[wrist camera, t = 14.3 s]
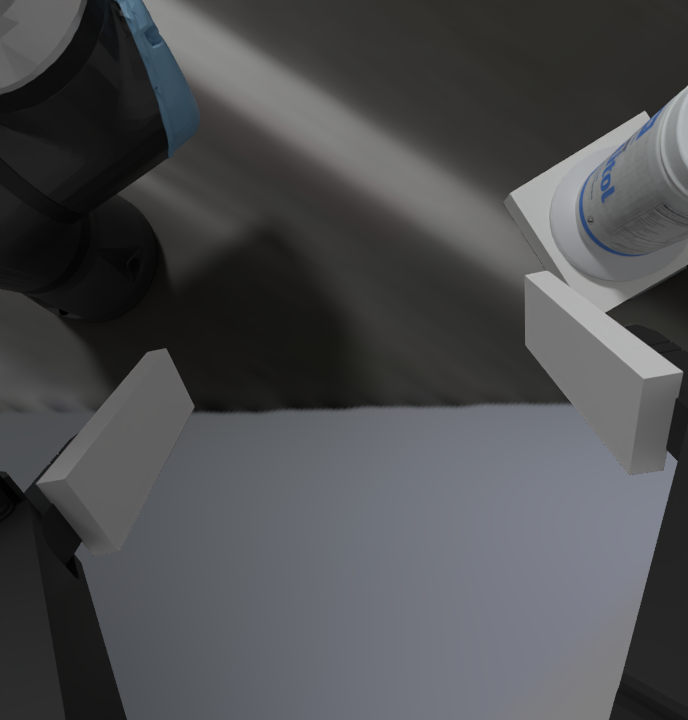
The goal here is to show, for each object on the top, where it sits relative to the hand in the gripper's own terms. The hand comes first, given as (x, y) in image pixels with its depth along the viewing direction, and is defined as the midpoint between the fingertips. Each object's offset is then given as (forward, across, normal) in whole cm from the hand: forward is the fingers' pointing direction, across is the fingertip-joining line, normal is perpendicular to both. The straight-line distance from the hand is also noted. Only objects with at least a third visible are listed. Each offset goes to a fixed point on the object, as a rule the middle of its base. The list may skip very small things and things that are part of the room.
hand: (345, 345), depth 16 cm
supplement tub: (+29, +26, -6) cm, 39 cm away
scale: (+32, +26, -8) cm, 42 cm away
